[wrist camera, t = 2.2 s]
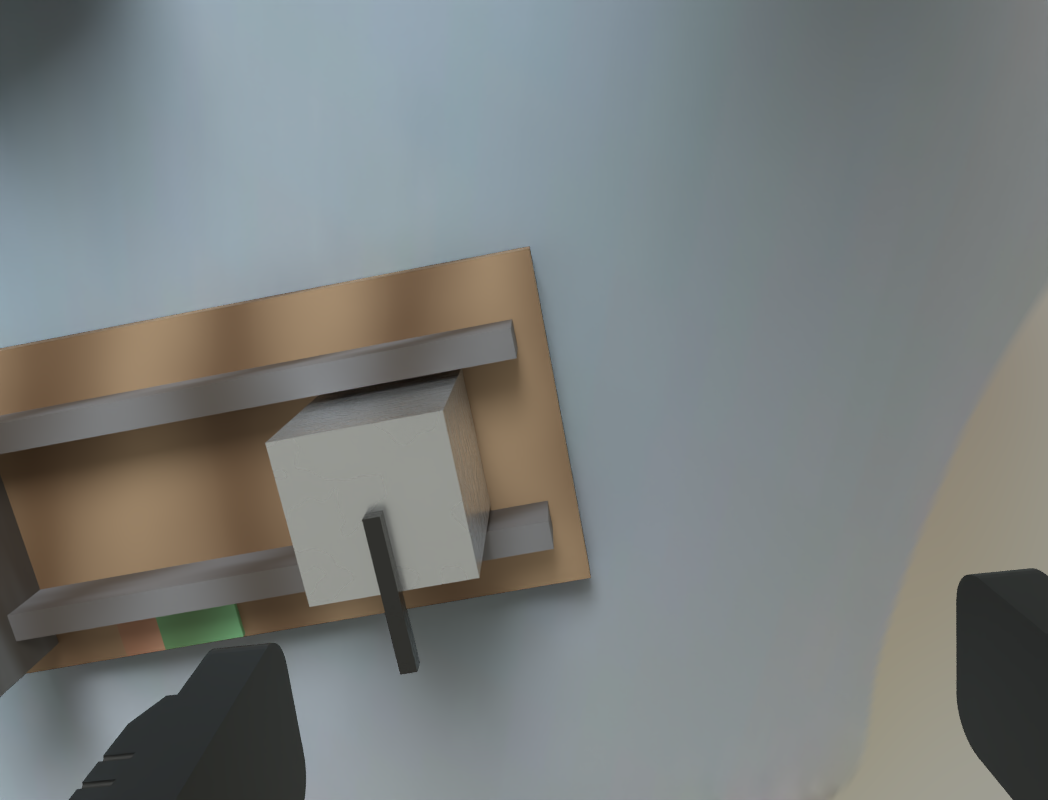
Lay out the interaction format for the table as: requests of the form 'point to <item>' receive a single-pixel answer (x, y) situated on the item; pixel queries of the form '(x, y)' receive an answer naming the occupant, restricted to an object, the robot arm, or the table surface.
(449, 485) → the gauge slider
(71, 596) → the gauge track
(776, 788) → the table surface
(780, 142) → the table surface
